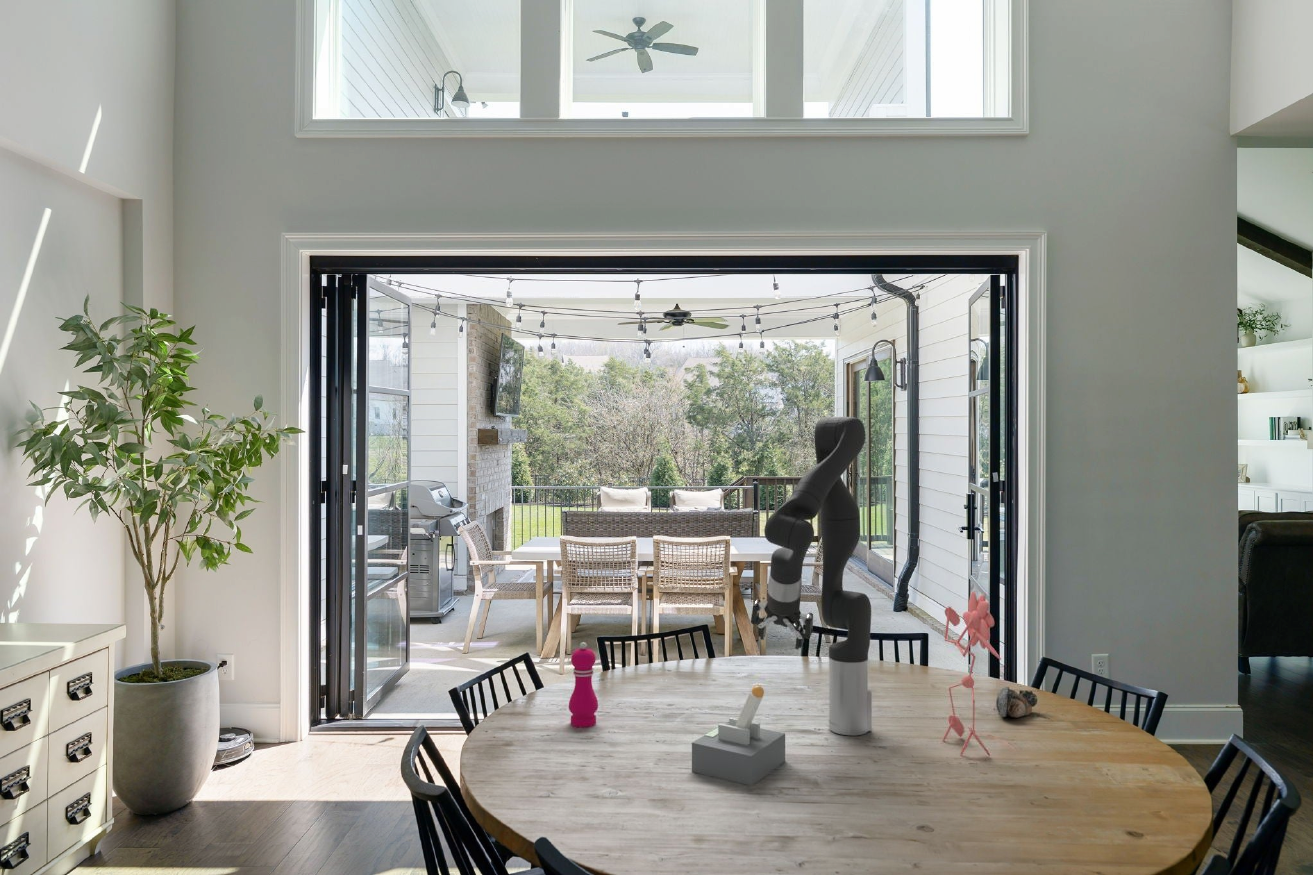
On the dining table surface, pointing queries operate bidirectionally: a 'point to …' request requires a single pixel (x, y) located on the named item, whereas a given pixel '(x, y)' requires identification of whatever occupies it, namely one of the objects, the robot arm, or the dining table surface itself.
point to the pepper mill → (583, 688)
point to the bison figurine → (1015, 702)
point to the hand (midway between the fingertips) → (780, 642)
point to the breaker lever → (750, 707)
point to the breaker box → (738, 752)
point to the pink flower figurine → (978, 631)
